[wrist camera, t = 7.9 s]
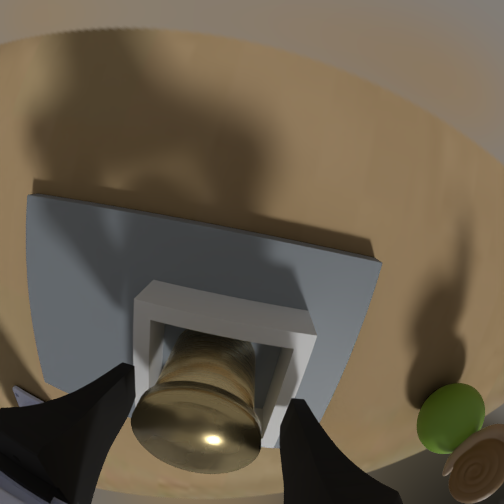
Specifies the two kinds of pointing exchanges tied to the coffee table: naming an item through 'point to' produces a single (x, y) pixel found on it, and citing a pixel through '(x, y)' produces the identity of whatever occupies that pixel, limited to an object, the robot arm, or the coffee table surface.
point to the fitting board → (189, 300)
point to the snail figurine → (463, 441)
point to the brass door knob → (202, 406)
